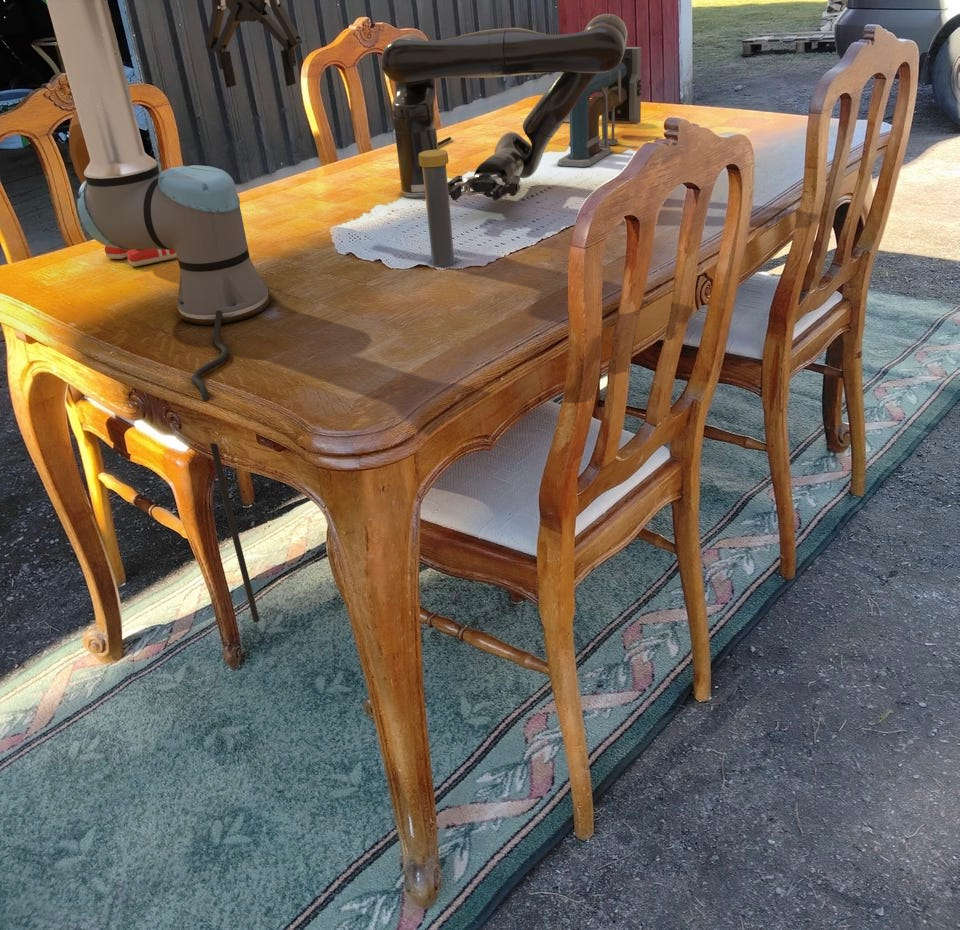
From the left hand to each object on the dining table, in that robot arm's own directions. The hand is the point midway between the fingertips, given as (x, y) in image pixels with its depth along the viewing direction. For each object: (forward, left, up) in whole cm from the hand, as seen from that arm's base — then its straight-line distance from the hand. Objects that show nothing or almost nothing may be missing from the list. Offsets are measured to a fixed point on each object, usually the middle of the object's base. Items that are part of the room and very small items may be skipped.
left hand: (261, 85), depth 196 cm
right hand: (-3, -45, -21) cm, 49 cm away
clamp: (+63, -57, -28) cm, 89 cm away
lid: (-23, -44, -8) cm, 51 cm away
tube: (-23, -44, -28) cm, 57 cm away
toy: (-25, +20, -28) cm, 42 cm away
